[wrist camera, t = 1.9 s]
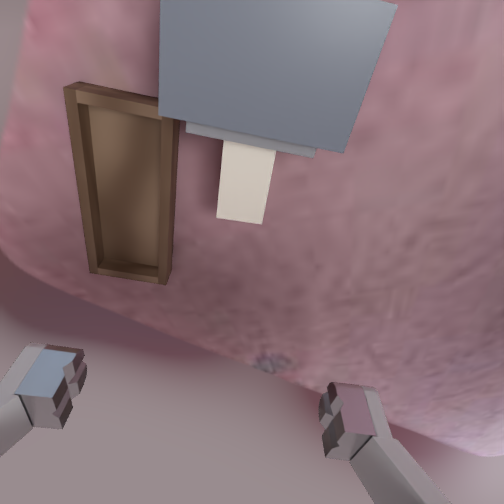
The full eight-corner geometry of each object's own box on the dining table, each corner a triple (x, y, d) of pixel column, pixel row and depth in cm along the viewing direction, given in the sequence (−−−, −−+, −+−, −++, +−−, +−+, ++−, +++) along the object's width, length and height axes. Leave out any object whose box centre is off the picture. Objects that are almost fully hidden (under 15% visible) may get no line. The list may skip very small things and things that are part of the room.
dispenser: (359, 7, 18) (398, 5, 13) (320, 132, 22) (337, 168, 17) (192, -35, 17) (160, -55, 12) (183, 103, 21) (157, 132, 16)
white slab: (294, 18, 18) (301, 19, 15) (262, 193, 25) (261, 224, 21) (242, 9, 18) (236, 7, 14) (223, 187, 24) (216, 218, 21)
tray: (180, 102, 21) (173, 110, 19) (171, 270, 29) (166, 285, 28) (79, 81, 20) (63, 87, 19) (99, 258, 29) (89, 272, 27)
